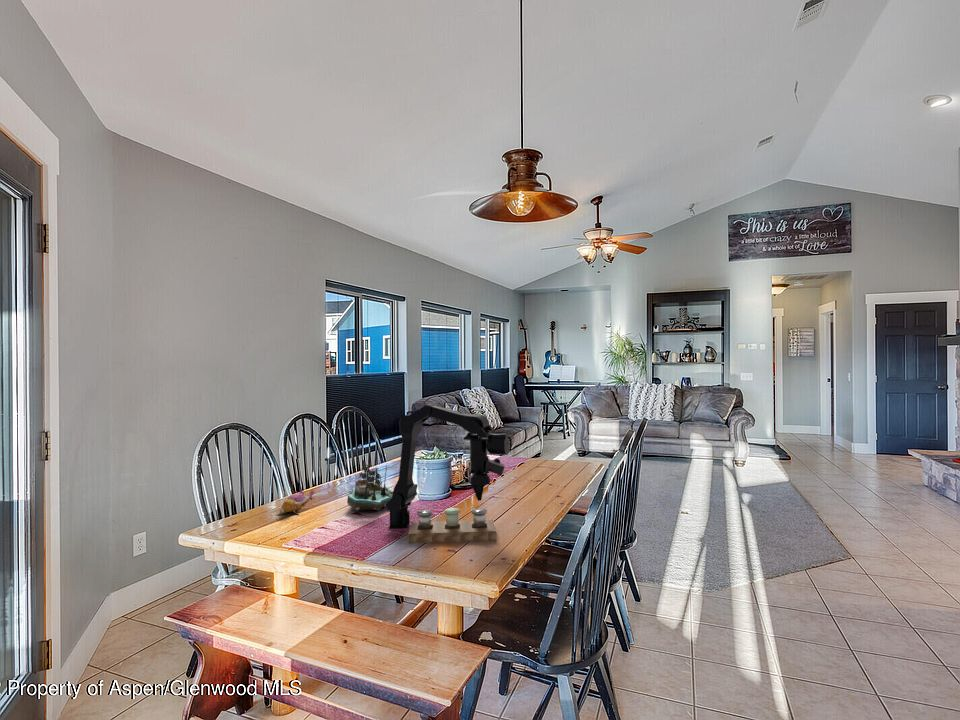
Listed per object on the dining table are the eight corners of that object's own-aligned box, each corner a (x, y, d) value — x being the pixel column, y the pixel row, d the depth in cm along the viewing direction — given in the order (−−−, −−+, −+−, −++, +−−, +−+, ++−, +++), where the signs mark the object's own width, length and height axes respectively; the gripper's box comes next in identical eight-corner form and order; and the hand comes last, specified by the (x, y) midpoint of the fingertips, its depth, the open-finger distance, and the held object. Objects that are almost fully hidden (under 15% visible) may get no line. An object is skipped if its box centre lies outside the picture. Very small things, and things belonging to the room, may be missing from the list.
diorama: (343, 514, 200) (347, 464, 200) (355, 498, 225) (359, 453, 225) (393, 518, 201) (397, 467, 201) (399, 501, 226) (403, 456, 226)
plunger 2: (472, 527, 173) (471, 512, 173) (471, 522, 178) (471, 508, 178) (487, 526, 174) (487, 512, 174) (486, 522, 179) (486, 508, 179)
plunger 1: (417, 528, 173) (416, 514, 173) (418, 523, 178) (418, 509, 178) (432, 528, 173) (432, 513, 173) (433, 523, 178) (432, 509, 178)
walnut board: (408, 543, 169) (408, 533, 169) (411, 530, 181) (411, 522, 181) (495, 540, 170) (495, 531, 170) (493, 528, 182) (493, 519, 182)
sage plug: (444, 526, 173) (444, 512, 173) (445, 522, 178) (444, 508, 178) (459, 526, 173) (459, 512, 173) (459, 521, 178) (459, 507, 178)
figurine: (320, 487, 228) (300, 499, 198) (320, 503, 228) (300, 518, 198) (293, 488, 228) (268, 500, 198) (293, 504, 227) (268, 519, 197)
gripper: (505, 457, 167) (506, 507, 167) (500, 448, 185) (501, 492, 185) (470, 458, 166) (471, 508, 166) (468, 448, 185) (469, 493, 185)
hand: (479, 500), depth 176 cm, fingers closed
